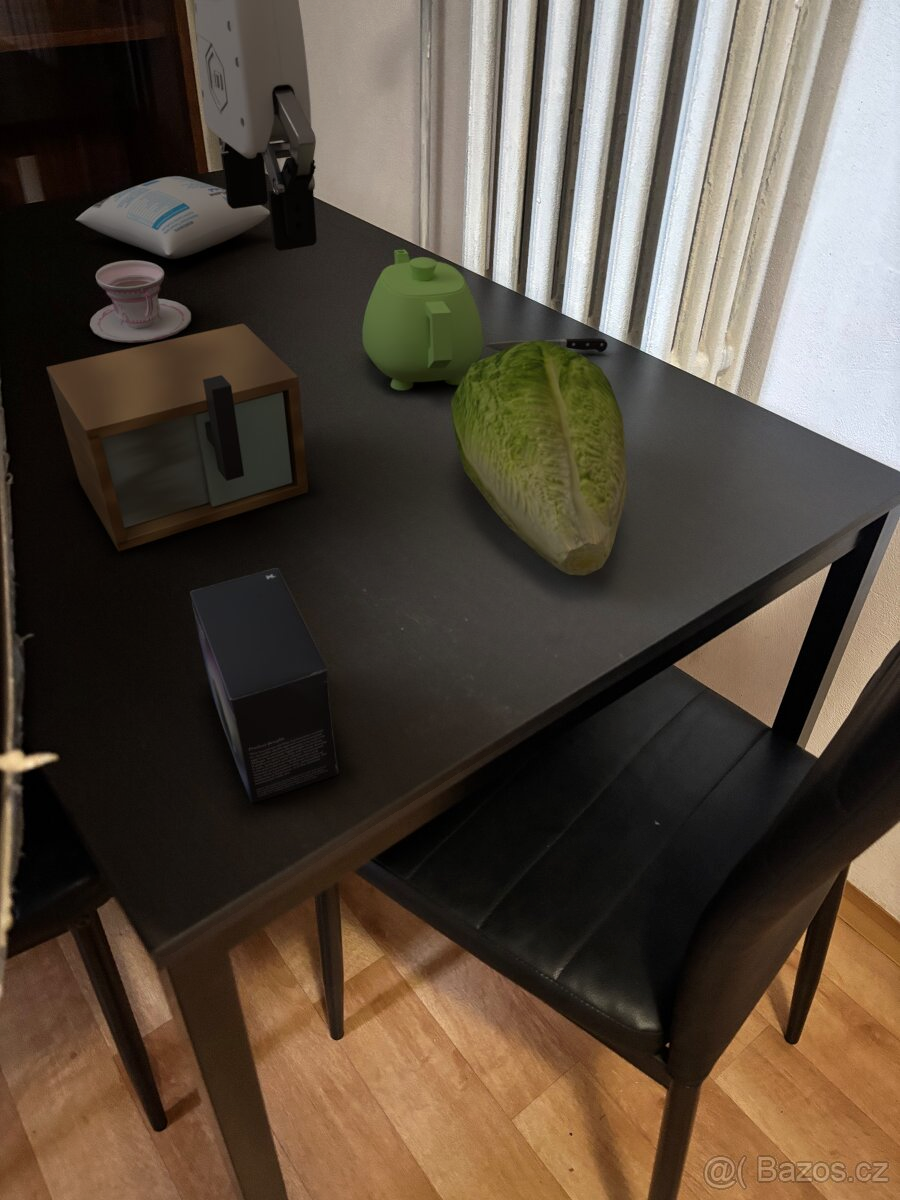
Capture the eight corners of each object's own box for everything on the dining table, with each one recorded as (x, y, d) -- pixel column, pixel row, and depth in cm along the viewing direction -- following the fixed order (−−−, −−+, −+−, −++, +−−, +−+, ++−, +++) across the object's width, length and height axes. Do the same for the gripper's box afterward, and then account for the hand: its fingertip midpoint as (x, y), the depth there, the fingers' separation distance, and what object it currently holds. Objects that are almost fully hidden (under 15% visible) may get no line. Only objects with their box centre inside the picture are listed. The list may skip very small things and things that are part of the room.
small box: (207, 697, 66) (183, 587, 59) (293, 671, 68) (280, 563, 61) (246, 808, 59) (225, 698, 52) (341, 775, 61) (333, 666, 54)
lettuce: (469, 552, 69) (653, 463, 65) (417, 363, 84) (563, 284, 81) (538, 642, 79) (699, 571, 76) (481, 460, 95) (612, 393, 91)
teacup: (75, 317, 112) (62, 268, 108) (165, 295, 118) (156, 247, 114) (115, 354, 105) (103, 302, 101) (209, 328, 111) (201, 278, 107)
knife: (483, 358, 107) (484, 342, 106) (483, 355, 108) (484, 339, 106) (605, 356, 109) (608, 340, 107) (604, 353, 109) (606, 337, 108)
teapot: (349, 336, 111) (344, 230, 102) (455, 326, 113) (459, 223, 105) (382, 418, 96) (379, 303, 88) (502, 405, 99) (511, 293, 91)
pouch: (67, 187, 125) (161, 215, 116) (176, 161, 137) (270, 184, 128) (80, 246, 130) (172, 277, 121) (185, 216, 142) (276, 242, 133)
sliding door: (227, 528, 79) (205, 391, 70) (210, 503, 82) (186, 369, 73) (309, 502, 82) (297, 368, 74) (289, 479, 85) (276, 348, 76)
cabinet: (118, 551, 78) (85, 430, 70) (79, 483, 86) (46, 366, 78) (308, 492, 86) (298, 376, 78) (257, 434, 93) (243, 323, 85)
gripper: (147, -63, 62) (187, 198, 74) (233, -27, 51) (265, 273, 62) (251, -65, 65) (275, 185, 76) (354, -32, 54) (364, 256, 65)
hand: (270, 225), depth 69 cm, fingers open, 9 cm apart
